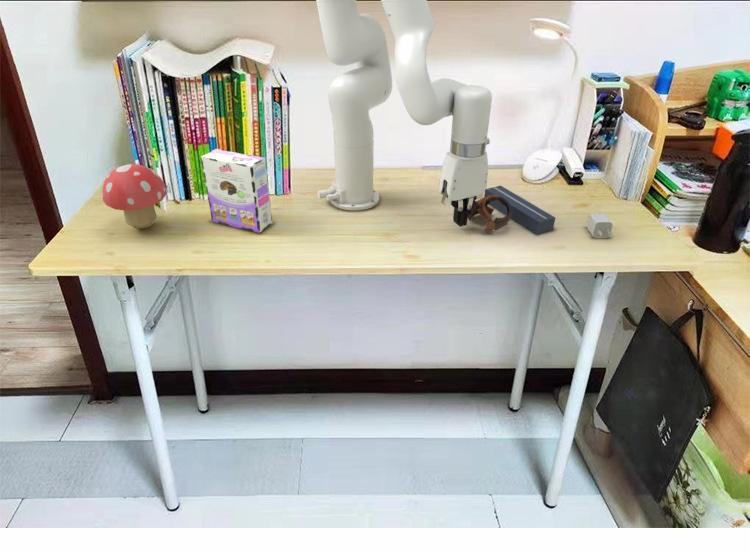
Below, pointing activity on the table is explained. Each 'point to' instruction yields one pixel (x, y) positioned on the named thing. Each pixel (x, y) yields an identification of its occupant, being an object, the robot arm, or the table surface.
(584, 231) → the table surface
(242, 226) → the candy box
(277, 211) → the table surface
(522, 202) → the pencil case
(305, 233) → the table surface
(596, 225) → the usb wall charger
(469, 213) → the brown curved looped piece
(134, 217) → the decorative mushroom
